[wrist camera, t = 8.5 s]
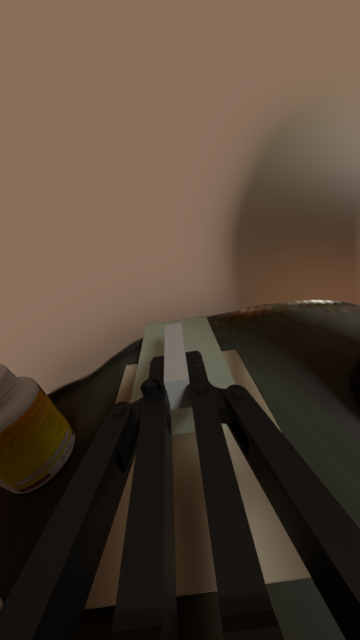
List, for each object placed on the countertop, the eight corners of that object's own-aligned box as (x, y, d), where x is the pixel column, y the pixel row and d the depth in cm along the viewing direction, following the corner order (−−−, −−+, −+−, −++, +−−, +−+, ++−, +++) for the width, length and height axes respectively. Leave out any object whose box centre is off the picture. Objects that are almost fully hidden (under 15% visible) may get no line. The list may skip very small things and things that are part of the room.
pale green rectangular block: (242, 424, 16) (206, 331, 30) (244, 404, 14) (205, 316, 28) (135, 440, 16) (150, 339, 30) (126, 421, 14) (146, 324, 28)
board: (235, 354, 25) (235, 349, 25) (351, 572, 9) (358, 569, 9) (128, 370, 25) (126, 365, 25) (63, 612, 9) (54, 612, 9)
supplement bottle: (89, 428, 18) (38, 356, 13) (47, 501, 13) (-56, 432, 8) (45, 424, 19) (-17, 356, 14) (-8, 491, 14) (-129, 424, 10)
